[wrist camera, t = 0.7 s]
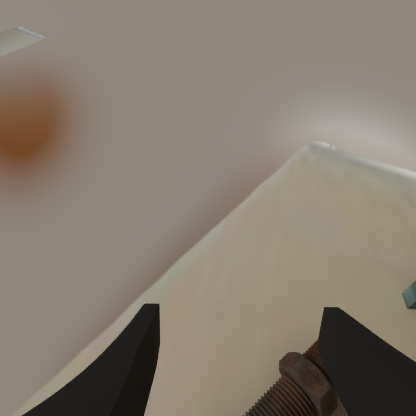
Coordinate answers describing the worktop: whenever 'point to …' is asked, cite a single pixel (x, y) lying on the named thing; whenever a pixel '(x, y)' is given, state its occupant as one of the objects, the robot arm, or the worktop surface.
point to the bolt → (299, 388)
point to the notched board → (410, 296)
